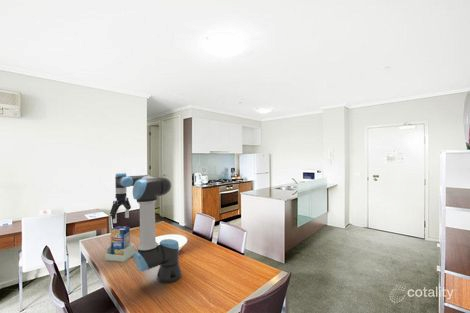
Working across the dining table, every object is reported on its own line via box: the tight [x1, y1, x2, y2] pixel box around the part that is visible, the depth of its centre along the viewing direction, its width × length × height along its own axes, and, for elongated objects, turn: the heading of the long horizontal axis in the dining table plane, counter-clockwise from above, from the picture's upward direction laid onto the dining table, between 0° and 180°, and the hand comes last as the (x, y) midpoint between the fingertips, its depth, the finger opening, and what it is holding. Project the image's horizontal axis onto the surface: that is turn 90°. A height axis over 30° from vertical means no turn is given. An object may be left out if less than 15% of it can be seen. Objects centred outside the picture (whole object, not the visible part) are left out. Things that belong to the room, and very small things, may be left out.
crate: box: [104, 243, 136, 263], centre depth 164 cm, size 16×13×9 cm
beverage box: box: [110, 225, 131, 256], centre depth 164 cm, size 7×11×22 cm, turn 81°
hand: (121, 220), depth 164 cm, fingers open, 13 cm apart
